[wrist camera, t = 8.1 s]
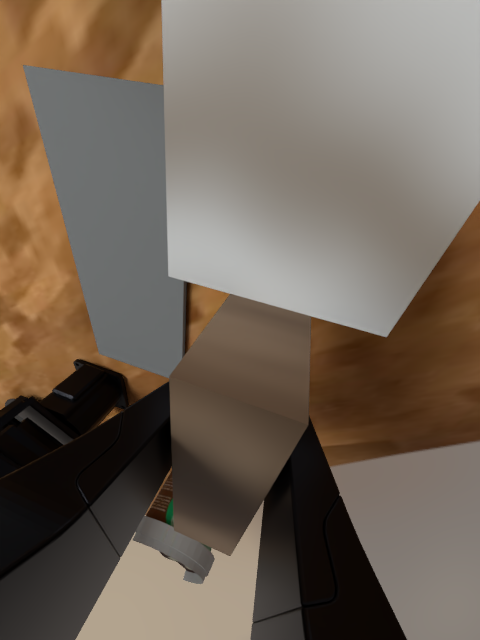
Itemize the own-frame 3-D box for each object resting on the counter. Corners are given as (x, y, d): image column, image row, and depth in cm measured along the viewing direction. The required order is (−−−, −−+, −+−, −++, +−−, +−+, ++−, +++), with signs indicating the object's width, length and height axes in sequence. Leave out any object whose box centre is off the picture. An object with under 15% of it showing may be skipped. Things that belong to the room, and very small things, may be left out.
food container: (246, 498, 35) (225, 595, 26) (213, 493, 37) (185, 581, 29) (210, 449, 30) (171, 550, 22) (176, 448, 33) (129, 538, 24)
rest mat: (184, 379, 24) (181, 382, 23) (102, 350, 25) (99, 353, 25) (191, 92, 11) (186, 88, 11) (31, 68, 13) (22, 65, 12)
